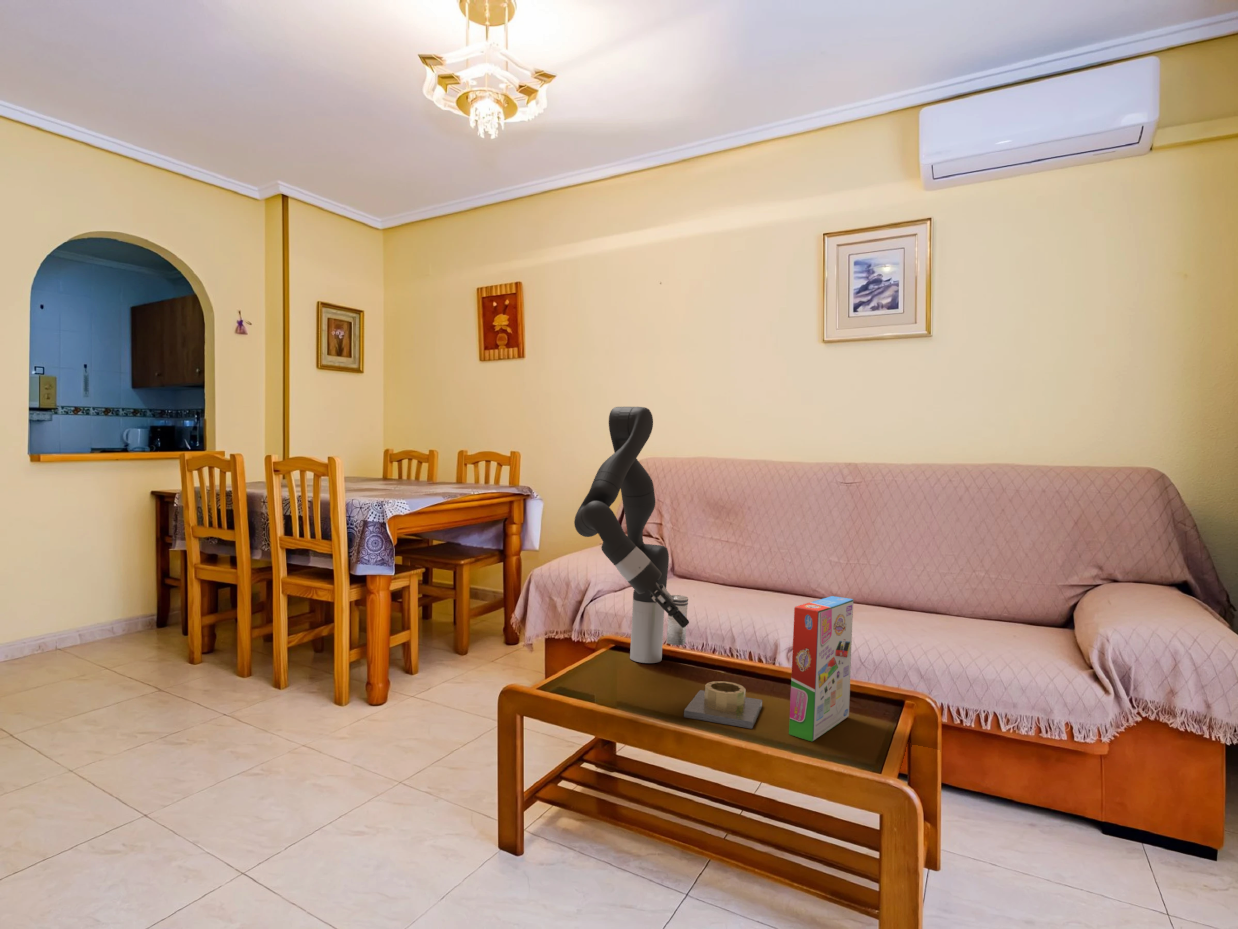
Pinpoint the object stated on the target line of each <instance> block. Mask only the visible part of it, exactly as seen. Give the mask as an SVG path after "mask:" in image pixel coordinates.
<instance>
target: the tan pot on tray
mask: <svg viewBox="0 0 1238 929" xmlns="http://www.w3.org/2000/svg"><path fill="white" fill-rule="evenodd" d="M746 691H747V690H746V687H744V686H743V685H741V684H739V683H736V682H731V681H721V680H720V681H713V680H712V681H710V682H707V683H706V684H705V685H704V690H703V689H700V690H699V691H698V692H697V693H696V694H695V696H694V697H693V698H692V700H691V701H690V702H689V703H688V705H687V706H686V707H685V708H684V710H683V718H687V719H693V720H699V721H705V722H710V723H716V724H722V725H726V726H732V727H733V726H734V727H739V728H745V729H751V730H753V728H754V725H755V723H756V721H757V718H758V717H759V715H760V712H761V710H762V707H763V699H761V698H760V699H759V698H752V697H747V696H746Z"/></svg>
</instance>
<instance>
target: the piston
mask: <svg viewBox="0 0 1238 929" xmlns="http://www.w3.org/2000/svg"><path fill="white" fill-rule="evenodd" d="M670 596H671V597H672V599H673V600H674V604H675V605H676V606H677V607H678V608H679V610H680V612H681V613H682V614H683V615H684V616H685V617H686V618H687V619H688V604H689V597H688V596H685V595H681V594H679V595H678V594H677V595H676V594H672V595H671V594H670ZM669 600H670V599H669ZM672 608H673V606H672V605H670V606H669V608H668V610H669V611H670V610H671V609H672ZM666 627H667V628H666V629H667V630H666V643H667V644H669V645H673V646H684V645H685V644H686V640H687V639H686V638H687V637H686V636H687V626H685V627H684V628H682V627H681V626H680V625H679V624H678V622H677V621H676V620H675V619H674V618H673V617H671V616H669V615H668V614H667V626H666Z"/></svg>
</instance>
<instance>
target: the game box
mask: <svg viewBox="0 0 1238 929" xmlns="http://www.w3.org/2000/svg"><path fill="white" fill-rule="evenodd" d="M793 611H794V612H793V631H792V632H793V636H792V655H791V656H792V657H791V676H790V680H791V682H790V696H789V697H790V699H789V701H790V702H789V720H788V721H789V722H788V723H789V724H788V735H789V736H792V737H796V738H799V739H802V740H805V741H808V742H814V741H815V740H817V739H818V738H820V737H821V736H823V735H825V733H827V732H828V731H830V730H831V729H833V728H834V727H837V725H839V724H840V723H841V722H843V721H844V720H846V719H848V718H849V717H850V700H851V699H850V697H851V673H852V672H851V668H852V645H853V644H852V641H853V640H852V639H853V618H854V599H853V598H849V597H848V598H847V597H843V596H842V597H841V596H836V595H835V596H833V595H831V596H828V597H823V598H821V599H817V600H813V601H810V602H806V603H803V604H800V605H796V606H794V610H793Z"/></svg>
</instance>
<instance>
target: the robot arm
mask: <svg viewBox="0 0 1238 929" xmlns="http://www.w3.org/2000/svg"><path fill="white" fill-rule="evenodd" d="M653 427H654V418H653V413H652V412H651V410H650V409H649V408H647V407H644V406H615V407H613V408H612V409H611V410H610V412H609V415H608V430H609V436H610V439H611V443H612V448H613V451H614V453H613V454H611V456H609V457H608V458H607V459H605V460H604V462H602V464H601V465H600V467H599V468H598V470H597V472H596V475H594V478H593V481H592V484H591V486H590V489H589V491H588V493H587V495H586V496H585V497H584V499H583V501H582V502H581V505H580V506H579V507H578V510H577V511H576V514H575V517H574V521H573V522H574V523H573V524H574V528H575V530H576V532H577V533H578V534H579V535H580V536H581V537H585V538H591V537H594V536H596V535H597V534H598V536H599V537H600V539H601V540H602V545H601V546H600V547H601V551H602V553H603V554H604V555H605V557H606V558H608V559H609V561H610V562H611V563H612V564H613V566H615V568H616V570H618V572H619V574H620V575H621V576H622V577H623V578H624V579H625V581H626V582H628V584H629V585H630V586H631V587H632V589H634V590H633V593H632V612H631V614H632V616H631V631H630V647H629V649H630V651H629V659H630V660H631V661H634V662H637V663H640V664H641V663H642V664H655V663H660V662H661V661H662V658H663V640H664V639H663V638H664V622H665V621H664V620H665V612H666V613H667V616H668V615H669V616H671V617H673V618H674V619H675V620H676V621H677V622H678V624H679V625H680V626H681V627H682V628H684V627H685V626H686V627H688V625H689V624H690V621H689V619H688V617H687V618H686V617H685V616H684V615H683V614H682V613H681V612H680V610H679V608H678V607H677V606H676V605H675V604H674V600H673V599H672V597H671V596H670V595H671V593H670V592H669V591H668V590H667V584H668V583H667V581H668V573H669V564H670V563H669V562H670V556H669V551H668V548H667V547H666V546H665V545H660V544H653V543H652V544H650V543H644V539H643V533H644V529H645V526H646V525H647V522H648V521H649V519H650V518H651V516H652V514H653V512H654V509H655V507H656V495H655V488H654V483H653V480H652V477H651V475H650V474H649V473H648V472H647V470H646V469H645V467H644V466H643V465H642V463H640V461H639V460H638V459H637V458H638V456H639V454H641V451H642V450H643V448H644V447H645V445H646V444H647V442H648V440H649V438H650V437H651V435H652V431H653ZM619 493H620V494H621V500H622V506H623V512H624V518H625V524H626V533H625V531H624V529H623V527H622V525H621V524H620V522H619V520H618V517H617V516H616V514H615V512H614V511H613V510H612V509H611V506H612V505H613V503H615V501H616V499H617V498H618V496H619ZM669 599H670V600H669ZM670 605H672V606H673V608H672V609H671V610H670V611H669V610H668V608H669V606H670Z"/></svg>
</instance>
